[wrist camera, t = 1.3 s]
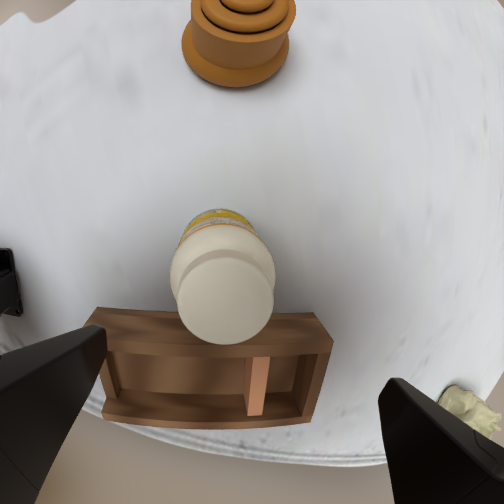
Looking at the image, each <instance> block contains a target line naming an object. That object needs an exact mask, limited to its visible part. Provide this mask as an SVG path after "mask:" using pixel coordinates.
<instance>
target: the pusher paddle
mask: <svg viewBox="0 0 504 504" xmlns="http://www.w3.org/2000/svg"><path fill="white" fill-rule="evenodd" d="M269 362H270V357H246V363H245V376H244V389H243V394H244V400H245V405H246V411H247V416H258V415H262V411H263V404H264V398H265V391H266V384H267V377H268V370H269Z"/></svg>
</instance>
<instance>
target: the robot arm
mask: <svg viewBox="0 0 504 504" xmlns="http://www.w3.org/2000/svg"><path fill="white" fill-rule="evenodd" d="M7 255H8V256H7ZM18 311H19V312H18ZM2 314H8V315H12V316H17V317H20V316H21V315H22V314H23V310H22V306H21V301H20V297H19V292H18V288H17V283H16V277H15V272H14V265H13V259H12V253H11V251H10V249H8V248H0V316H1V315H2ZM107 352H108V346H107V334H106V329H105V328H104V327H102V326H99V325H96V324H91V325H88V326H85V327H83V328H80V329H77V330H74V331H71V332H68V333H65V334H62V335H59V336H56V337H53V338H50V339H47V340H44V341H41V342H38V343H35V344H32V345H29V346H26V347H23V348H20V349H17V350H14V351H11V352H8V353H5V354H3V355H0V504H34V503H35V501H36V499H37V497H38V494H39V491H40V489H41V487H42V485H43V483H44V481H45V479H46V476H47V474H48V472H49V470H50V468H51V466H52V463H53V462H54V460H55V458H56V456H57V454H58V451H59V450H60V448H61V445H62V444H63V442H64V440H65V438H66V436H67V434H68V432H69V430H70V429H71V427H72V425H73V423H74V421H75V419H76V418H77V416H78V414H79V412H80V410H81V409H82V407H83V405H84V403H85V401H86V400H87V398H88V396H89V394H90V392H91V390H92V388H93V386H94V383H95V381H96V378H97V376H98V374H99V372H100V369H101V367H102V365H103V363H104V360H105V358H106V356H107ZM378 406H379V413H380V421H381V430H382V438H383V443H384V448H385V453H386V458H387V463H388V468H389V473H390V479H391V484H392V490H393V496H394V502H395V504H504V448H503V447H501V446H500V445H498V444H496V443H495V442H493V441H491V440H490V439H488V438H487V437H485V436H484V435H482V434H481V433H479V432H478V431H476V430H475V429H473V428H472V427H470V426H469V425H468V424H466V423H465V422H463V421H462V420H460V419H459V418H457V417H456V416H455V415H453V414H452V413H450V412H449V411H447V410H446V409H445V408H443V407H442V406H440V405H439V404H438V403H436V402H435V401H433V400H432V399H430V398H429V397H428V396H426V395H425V394H423V393H422V392H421V391H419V390H418V389H416V388H415V387H414V386H412V385H411V384H409V383H408V382H407V381H405V380H404V379H402V378H390V379H389V380H388V382H387V383H386V385H385V387H384V388H383V390H382V392H381V393H380V395H379V398H378Z"/></svg>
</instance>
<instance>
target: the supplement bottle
mask: <svg viewBox="0 0 504 504" xmlns="http://www.w3.org/2000/svg"><path fill="white" fill-rule="evenodd" d="M170 285H171V289H172V292H173V295H174V297H175V299H176V301H177V308H178V312H179V315H180V318H181V320H182V322H183V323H184V325H185V326H186V327H187V329H188V330H189V331H191V332H192V333H193V334H194V335H196V336H197V337H199V338H200V339H202V340H205V341H207V342H210V343H215V344H222V345H224V344H236V343H240V342H243V341H245V340H248V339H250V338H251V337H253V336H255V335H256V334H257V333H258V332H259V331H261V330H262V328H263V327H264V326H265V325H266V323H267V322H268V320H269V318H270V316H271V313H272V310H273V304H274V296H273V290H274V286H275V266H274V262H273V259H272V257H271V254H270V252H269V250H268V249H267V247H266V246H265V244H264V243H263V242H262V240H261V239H260V237H259V236H258V235H257V233H256V232H255V231H254V229H253V228H252V226H251V225H250V223H249V222H248V221H247V220H246V219H245V218H244V217H243V216H241V215H240V214H238V213H236V212H234V211H231V210H227V209H212V210H208V211H205V212H203V213H201V214H199V215H198V216H196V217H195V218H194V219H193V220H192V221H191V222H190V223H189V225H188V226H187V228H186V229H185V231H184V234H183V236H182V239H181V241H180V243H179V245H178V248H177V250H176V252H175V254H174V257H173V260H172V263H171V267H170Z"/></svg>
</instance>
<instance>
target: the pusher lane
mask: <svg viewBox="0 0 504 504" xmlns="http://www.w3.org/2000/svg"><path fill="white" fill-rule="evenodd" d="M91 324H96V325H99V326H102V327H104V328H105V329H106V334H107V346H108V352H107V356H106V358H105V360H104V363H103V365H102V367H101V369H100V372H99V374H100V378H101V381H102V384H103V388H104V391H105V394H106V397H107V398H106V401H105V403H104V406H103V409H102V412H101V413H102V416H103V418H104V420H108V421H114V422H120V423H127V424H135V425H143V426H152V427H164V428H178V429H249V428H264V427H276V426H285V425H294V424H302V423H309V422H311V419H312V416H313V413H314V409H315V406H316V403H317V400H318V397H319V393H320V390H321V386H322V383H323V380H324V376H325V372H326V369H327V365H328V361H329V357H330V354H331V350H332V346H333V342H334V341H333V339H332V338H331V337H330V335H329V334H328V332H327V331H326V330H325V328H324V327H323V325H322V324H321V323H320V321H319V320H318V318H317V317H316V316H315V314H314V313H280V314H271V316H270V318H269V320H268V322H267V323H266V325H265V326H264V327H263V328H262V330H261V331H259V332H258V333H257V334H256V335H255V336H253V337H251V338H250V339H248V340H245V341H243V342H240V343H236V344H224V345H222V344H215V343H210V342H207V341H205V340H202V339H200V338H199V337H197V336H196V335H194V334H193V333H192V332H191V331H189V330H188V329H187V327H186V326H185V325H184V323H183V322H182V320H181V318H180V315H179V312H160V311H142V310H127V309H114V308H103V307H97V308H96V310H95V311H94V312H93V314H92V315H91V316H90V318H89V319H88V320H87V322H86V323H85V325H84V326H83V327H85V326H88V325H91ZM83 327H82V328H83ZM246 357H270V362H269V370H268V377H267V384H266V391H265V398H264V404H263V411H262V415H258V416H247V411H246V405H245V400H244V394H243V389H244V376H245V363H246Z"/></svg>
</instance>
